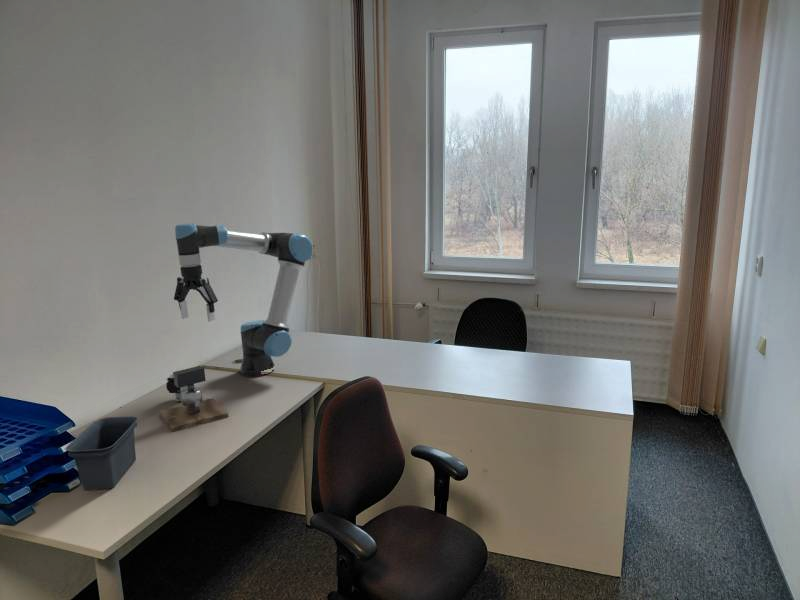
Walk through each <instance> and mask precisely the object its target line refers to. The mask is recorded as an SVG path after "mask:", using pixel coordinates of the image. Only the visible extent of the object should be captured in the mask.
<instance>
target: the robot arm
mask: <svg viewBox="0 0 800 600" xmlns="http://www.w3.org/2000/svg"><path fill="white" fill-rule="evenodd" d="M174 232H175V241H176V245H177V253H178V261H179V266H180V268H179V269H180V275H181V276H179V277H178V276H177V279H176V287H175V291H174V296H173V299H174V301H176V302H178V306H179V310H180V314H181V319H187V318H190V317H189V311H188V304H187V300H186V297H187V296H188V295H189V292H190V290H194V291H195V290H196V292H198V293H199V294H200V295H201V297H202V298H203V300H204V301H205V302H206V304H205V307H206V316H207V321H208V322H212V321H215V320H216V319H215V303H217V302H218V301H219V300H218V297H217V296H216V294H215V292H214V290H213V287H212V286H211V284H210V279H209V278H208V277H204V278H202V274H203V268H202V265H201V263H202V262H201V261H202V259H201V254H200V249H202V248H206V247H207V248H208V247H221V248H226V249H227V248H229V249H236V250H246V251H252V252H253V251H254V252H257V253H259V254H260V255H266V256H271V257H274V258H277V262H278V264H279V268H278V269H279V270H278V274H277V276H276V280H275V281H276V282H275V286H274V290H273V294H272V298H271V303H270V307H269V312H268V315H267V318H266V319H265V320H263V319H262V320H261V319H260V320H254V321H249V322H244V323H243V324H241V325H240V336H241V347H242V361H241V364H240V374H241V375H242V376H245V377H260V376H261V375H262V374H261V371H264V370H267V369H271V368H273V367H274V366H275V363H274V360H273V358H272V357H274V358H279V357H282V356H284V355H286V353H288V351H289V350H290V348H291V346H292V337H291V335H290V333H289V332H290V328H291V327H290V326H289V324H288V320H289V317H290V313H291V308H292V304H293V299H294V295H295V290H296V287H297V283H298V278H299V273H300V270H302V269H303V268H304V267H305V264H306V262H307V261H309V260H310V259H311V258H312V256H313V253H314V246H313V243H312V241H311V239H310V238H309V237H308V236H307V235H304V234H300V233H296V232H295V233H291V232H290V233H289V232H261V233H255V232H248V231H247V232H246V231H240V230H233V229H232V230H231V229H227V228H226V227H225V226H224V225H213V226H212V225H199V224H198V225H197V224H196V223H191V222H190V223H180V224H177V225H176V226H175V229H174ZM262 376H263V375H262Z"/></svg>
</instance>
